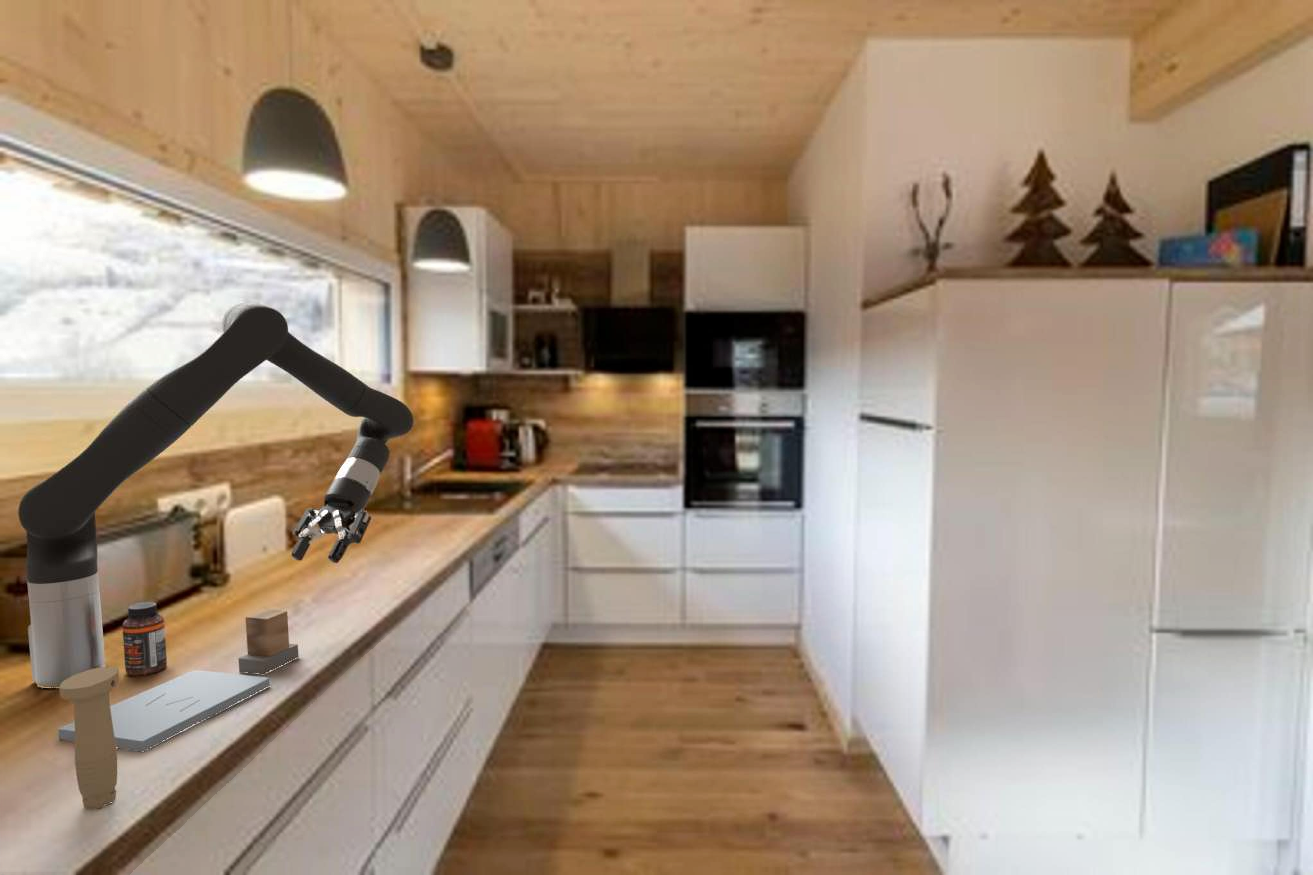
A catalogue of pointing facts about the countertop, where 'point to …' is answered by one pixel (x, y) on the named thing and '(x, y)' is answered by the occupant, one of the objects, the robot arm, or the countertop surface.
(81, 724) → the handle
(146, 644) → the supplement bottle
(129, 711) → the board
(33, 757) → the countertop surface
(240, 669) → the block
